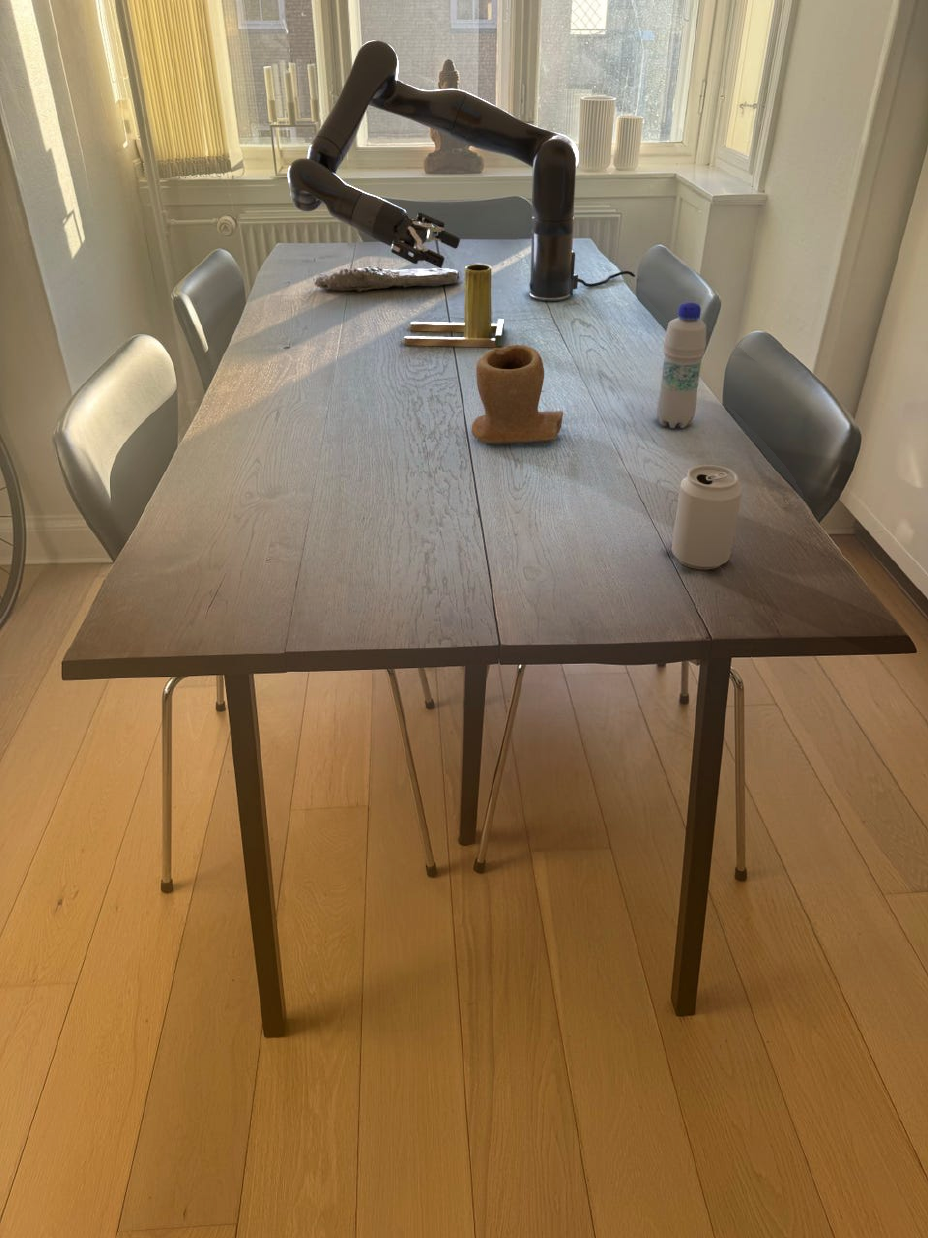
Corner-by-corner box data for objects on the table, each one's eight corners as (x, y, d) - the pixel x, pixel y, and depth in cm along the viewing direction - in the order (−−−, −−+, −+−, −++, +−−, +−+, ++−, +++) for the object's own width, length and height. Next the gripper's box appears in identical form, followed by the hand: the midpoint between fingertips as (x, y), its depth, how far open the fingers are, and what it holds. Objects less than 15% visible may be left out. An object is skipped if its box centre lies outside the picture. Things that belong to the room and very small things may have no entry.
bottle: (697, 418, 161) (714, 298, 150) (691, 433, 156) (709, 311, 144) (657, 413, 163) (671, 294, 151) (650, 428, 158) (665, 306, 146)
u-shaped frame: (404, 345, 192) (404, 332, 191) (411, 328, 201) (410, 316, 199) (501, 347, 191) (501, 335, 189) (503, 331, 199) (504, 319, 198)
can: (664, 544, 126) (675, 462, 120) (719, 541, 127) (733, 459, 120) (679, 574, 120) (691, 489, 113) (737, 571, 121) (753, 486, 114)
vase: (493, 334, 197) (494, 263, 189) (491, 344, 192) (492, 271, 184) (464, 333, 198) (464, 262, 190) (461, 343, 193) (461, 270, 185)
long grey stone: (463, 293, 226) (456, 284, 234) (464, 270, 223) (457, 261, 232) (314, 292, 220) (313, 283, 228) (313, 269, 217) (312, 260, 226)
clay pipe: (471, 455, 149) (471, 362, 141) (471, 424, 159) (471, 336, 151) (567, 455, 149) (573, 362, 141) (561, 424, 159) (567, 335, 150)
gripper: (367, 216, 184) (442, 252, 184) (396, 187, 193) (468, 221, 193) (360, 250, 190) (433, 285, 190) (389, 220, 199) (459, 253, 199)
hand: (451, 252), depth 191 cm, fingers open, 8 cm apart
